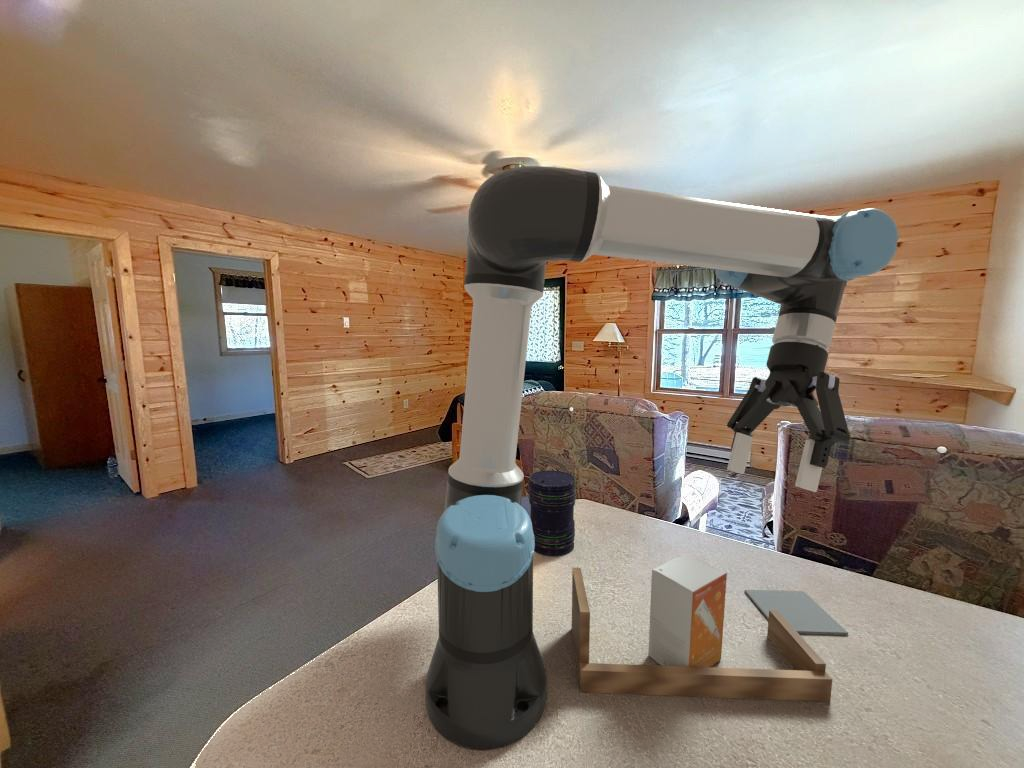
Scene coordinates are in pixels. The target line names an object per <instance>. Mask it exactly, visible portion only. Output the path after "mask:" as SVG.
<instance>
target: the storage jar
mask: <svg viewBox="0 0 1024 768" xmlns="http://www.w3.org/2000/svg"><path fill="white" fill-rule="evenodd" d="M528 495H529V497H528V501H529V504H530V519H531V522H532V529H533V533H534V539H535V548H534V553H536V554H538V555H541V556H545V557H553V558H554V557H563V556H566V555H568V554H570V553H572V552H573V551H574V550H575V542H574V541H575V536H576V528H575V525H576V524H575V523H576V521H575V520H574V518H575V517H574V515H575V514H574V510H575V507H574V506H576V505H575V504H576V478H575V476H574V475H573V474H571V473H569V472H565V471H562V470H561V471H560V470H551V469H550V470H540V471H536V472H533V473H531V474H530V475H529V487H528Z"/></svg>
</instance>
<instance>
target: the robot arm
mask: <svg viewBox="0 0 1024 768" xmlns="http://www.w3.org/2000/svg"><path fill="white" fill-rule="evenodd" d="M468 209H469V210H468V219H467V220H468V221H467V223H468V233H467V240H466V245H467V246H466V248H467V249H466V258H465V259H466V262H465V270H464V271H465V272H464V290H465V291H466V293H467V294H468V295H469V296H470V297H471V299H472V301H473V304H472V313H471V315H472V316H471V325H470V336H469V347H468V359H467V368H466V369H467V371H466V379H465V380H466V383H465V389H464V390H465V392H464V403H463V404H464V405H463V412H462V415H463V416H462V426H461V427H462V428H461V437H460V446H459V447H460V448H459V458H458V459H457V460H456V461H455V462H453V463H452V464H451V465H450V466H449V467H448V472H447V482H446V492H445V494H446V495H445V501H444V509H443V510H444V511H443V513H442V514H441V516H440V518H439V519H438V522H437V526H436V534H435V538H434V539H435V540H434V552H435V556H436V564H437V565H436V566H437V567H436V568H437V569H436V571H437V608H438V609H437V610H438V611H437V614H438V615H437V617H438V639H437V641H436V645H435V647H434V651H433V654H432V658H431V661H430V663H429V666H428V670H427V674H426V679H425V705H426V706H425V707H426V711H427V715H428V717H429V719H430V721H431V723H432V725H433V726H434V728H435V729H436V730H437V731H438V732H439V734H441V735H442V736H443V737H444V738H445V739H447V740H449V741H450V742H452V743H454V744H456V745H458V746H460V747H461V746H462V747H464V748H469V749H473V750H490V749H491V750H492V749H496V748H501V747H505V746H507V745H510V744H511V743H514V742H516V741H518V740H520V739H521V738H523V737H524V736H525V735H526V734H528V733H529V732H530V731H531V730H533V728H534V726H536V724H537V723H538V721H539V720H540V718H541V716H542V715H543V712H544V711H545V707H546V702H547V693H548V692H547V690H548V687H547V686H548V685H547V683H548V682H547V680H548V677H547V671H546V666H545V663H544V660H543V657H542V654H541V652H540V648H539V645H538V643H537V640H536V637H535V634H534V631H533V630H534V625H533V624H534V554H535V552H534V548H535V539H534V533H533V529H532V522H531V519H530V518H531V516H530V515H529V513H528V512H527V510H526V509H525V508H524V507H523V506H522V498H523V497H522V495H523V488H524V475H525V474H524V472H523V471H522V470H521V468H520V467H519V466H518V465H517V463H516V459H517V458H516V457H517V448H518V439H519V430H520V420H521V412H522V411H521V409H522V401H523V400H522V399H523V392H524V391H523V390H524V382H525V381H524V380H525V372H526V361H527V353H528V352H527V350H528V344H529V343H528V341H529V331H530V322H531V312H532V307H533V306H534V304H535V303H537V302H538V301H539V300H541V298H542V297H543V296H544V289H545V279H546V269H547V262H557V261H561V262H562V261H566V262H575V263H576V262H577V263H583V262H585V261H586V260H588V259H589V258H591V256H593V255H595V256H600V257H601V256H602V257H611V258H619V259H627V260H636V261H642V262H643V261H644V262H653V263H662V264H669V265H670V264H672V265H677V266H678V265H679V266H688V267H693V268H694V267H696V268H702V269H703V268H704V269H714V270H715V274H716V277H717V279H718V280H719V281H721V282H723V283H725V284H727V285H729V286H731V287H733V288H734V289H738V290H740V291H741V290H742V291H744V292H746V293H749V294H752V295H755V296H757V297H760V298H763V299H765V300H768V301H770V302H772V303H776V304H778V305H780V307H779V312H778V317H777V320H776V325H775V329H774V332H773V335H772V338H771V341H772V344H773V345H771V346H770V349H769V353H768V357H767V360H766V367H767V369H768V371H769V374H768V377H767V378H766V379H762V378H759V377H757V376H754V377H753V378H752V380H751V382H750V386H749V388H748V389H747V392H746V394H745V395H744V397H743V398H742V400H741V401H740V402H739V404H738V406H737V407H736V409H735V411H734V413H733V414H732V415H731V417H730V419H729V420H728V421H727V424H726V427H727V428H729V429H731V430H732V431H733V432H734V435H733V438H732V443H731V446H730V450H731V452H730V456H729V459H728V464H727V467H726V470H727V471H731V472H734V473H738V474H740V475H745V471H746V468H747V463H748V461H749V460H748V459H749V456H750V452H751V448H752V443H753V440H754V437H753V436H754V435H753V434H752V433H753V432H754V431H755V430H756V429H757V428H758V427H759V426H760V424H762V423H763V421H765V420H766V418H768V416H770V414H772V412H774V410H777V409H780V408H781V407H789V406H793V407H797V410H798V412H799V414H800V416H801V418H802V420H803V422H804V423H805V426H806V427H807V430H808V432H809V434H810V436H808V439H805V441H804V446H803V451H802V454H801V455H802V456H801V459H800V463H799V467H798V471H797V475H796V479H795V483H794V487H797V488H801V489H803V490H806V491H810V492H813V493H818V492H817V491H818V488H819V484H820V479H821V476H822V471H823V469H825V468H826V467H827V466H828V463H829V459H830V454H831V449H832V446H834V445H835V444H838V443H841V442H842V443H847V442H849V441H850V439H851V435H850V431H849V427H848V423H847V419H846V416H845V411H844V408H843V404H842V402H841V401H842V400H841V397H840V392H839V390H840V389H839V387H840V378H839V377H838V376H835V375H833V374H830V373H827V372H825V370H826V366H827V361H828V357H829V352H828V350H829V349H830V348H831V343H832V339H833V335H834V331H835V327H836V323H837V318H838V315H839V311H840V307H841V304H842V299H843V296H844V292H845V288H846V286H847V284H848V282H850V281H854V280H855V279H856V278H861V277H866V276H870V275H874V274H876V273H879V272H880V271H882V270H883V269H885V268H886V267H887V266H888V265H889V264H890V262H891V261H892V259H893V258H894V257H895V254H896V252H897V247H898V241H899V231H898V227H897V224H896V222H895V221H894V219H893V218H892V217H891V215H889V214H888V213H887V212H885V211H883V210H881V209H878V208H864V209H860V210H857V211H854V210H851V211H847V212H845V213H843V214H842V215H839V216H838V215H837V216H828V215H820V214H810V213H803V212H796V211H791V210H790V211H789V210H782V209H775V208H769V207H768V208H767V207H761V206H755V205H748V204H741V203H733V202H726V201H720V200H712V199H705V198H699V197H694V196H687V195H686V196H684V195H680V194H678V195H677V194H672V193H665V192H664V193H663V192H658V191H651V190H644V189H637V188H631V187H624V186H616V185H610V184H606V183H605V181H604V180H603V178H602V177H601V175H600V173H598V172H592V171H584V170H578V169H573V168H563V167H554V166H539V165H538V166H536V165H533V166H532V165H525V166H524V165H523V166H515V167H510V168H507V169H503V170H500V171H498V172H497V173H495V174H492V175H491V176H489V178H487V179H486V180H485V181H484V182H483V183H481V185H480V186H479V187H478V189H477V190H476V192H475V193H474V196H473V197H472V200H471V202H470V205H469V208H468ZM814 392H816V396H817V397H815V395H814V394H813V393H814Z"/></svg>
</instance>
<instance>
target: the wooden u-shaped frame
mask: <svg viewBox="0 0 1024 768" xmlns="http://www.w3.org/2000/svg"><path fill="white" fill-rule="evenodd" d="M571 574H572V576H571V577H572V582H571V583H572V584H571V585H572V586H571V634H572V642H573V649H574V656H575V663H576V670H577V677H578V684H579V685H578V687H579V692H580V693H593V694H594V693H595V694H596V693H597V694H615V695H616V694H619V695H620V694H622V695H624V694H625V695H643V696H644V695H646V696H647V695H648V696H671V697H698V698H700V697H701V698H721V699H722V698H726V699H727V698H729V699H746V700H747V699H751V700H754V699H755V700H771V701H772V700H776V701H777V700H778V701H779V700H780V701H799V702H800V701H801V702H806V701H807V702H828V703H829V702H830V703H831V697H832V690H833V689H832V687H833V678H832V677H831V676H830V675H829V674H828V673H827V672H826V669H827V668H826V667H827V664H826V663H825V661H824V659H822V658H821V656H819V654H817V653H816V651H815V650H814V649H813V648H812V647H811V645H809V643H807V641H806V640H805V639H804V637H802V636H801V635H800V634H798V632H797V631H796V630H795V629H794V628H793V627H792V626H791V625H790V624H789V623H788V621H787V620H786V619H785V618H784V617H783V616H782V615H781V614H780V613H779V611H778V610H769V620H768V619H767V620H768V623H767V637H768V638H769V640H771V642H772V643H773V644H774V645H775V646H776V647H777V649H778V650H779V651H780V653H781V654H782V655H783V656H784V658H785V659H786V660H787V661H788V662H789V664H790V665H791V667H792V668H793V669H768V668H767V669H766V668H765V669H763V668H739V667H737V668H736V667H714V666H711V667H687V666H661V665H657V664H656V665H649V664H629V663H628V664H623V663H602V662H601V663H599V662H593V663H592V662H590V638H591V637H590V635H591V633H590V631H591V630H590V628H591V611H590V606H589V601H588V596H587V591H586V587H585V586H586V585H585V583H584V578H583V577H584V576H583V573H582V568H581V567H572V573H571Z"/></svg>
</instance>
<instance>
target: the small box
mask: <svg viewBox="0 0 1024 768" xmlns="http://www.w3.org/2000/svg"><path fill="white" fill-rule="evenodd" d="M727 577H728V572H727V571H725V570H723V569H721V568H719V567H717V566H714V565H712V564H710V563H708V562H706V561H704V559H703V560H702V559H700V558H699V557H697V556H694V555H693V554H690V553H689V552H685V553H684V554H681V555H679V556H676V557H675V558H674V557H673V558H671V559H669V560H666V562H664V563H662V564H660V565H658V566H657V567H654V568H652V569H651V582H650V583H651V585H650V586H651V587H650V611H649V614H650V615H649V633H648V657H650V658H651V659H652V660H654V661H655V663H657V664H659V666H687V667H714V665H715V664H717V663H718V662H719V661H721V660H722V653H723V652H722V650H723V637H724V636H723V635H724V621H725V620H724V619H725V605H726V591H727V580H728V579H727Z"/></svg>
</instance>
